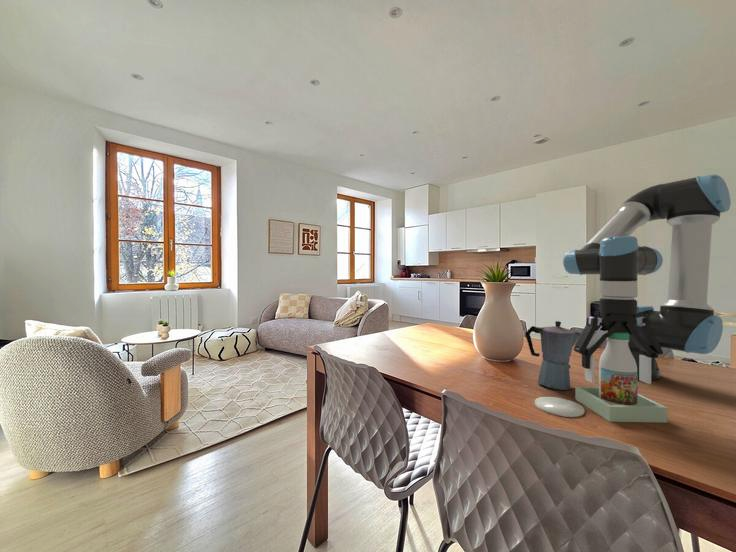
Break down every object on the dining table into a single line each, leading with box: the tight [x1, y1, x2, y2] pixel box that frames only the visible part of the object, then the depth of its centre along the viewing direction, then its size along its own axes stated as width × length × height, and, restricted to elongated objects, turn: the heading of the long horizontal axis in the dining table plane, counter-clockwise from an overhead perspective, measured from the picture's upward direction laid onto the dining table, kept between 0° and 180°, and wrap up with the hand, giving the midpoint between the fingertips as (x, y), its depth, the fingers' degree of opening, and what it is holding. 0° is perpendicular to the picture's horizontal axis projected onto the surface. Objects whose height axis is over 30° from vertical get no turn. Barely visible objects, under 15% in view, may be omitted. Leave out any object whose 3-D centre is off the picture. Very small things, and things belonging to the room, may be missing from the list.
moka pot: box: [524, 320, 582, 391], centre depth 97 cm, size 10×15×20 cm, turn 78°
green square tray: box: [574, 386, 668, 423], centre depth 80 cm, size 13×13×4 cm
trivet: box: [534, 396, 585, 418], centre depth 81 cm, size 11×11×1 cm
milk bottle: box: [598, 332, 639, 405], centre depth 80 cm, size 8×8×20 cm
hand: (617, 381), depth 80 cm, fingers open, 13 cm apart
